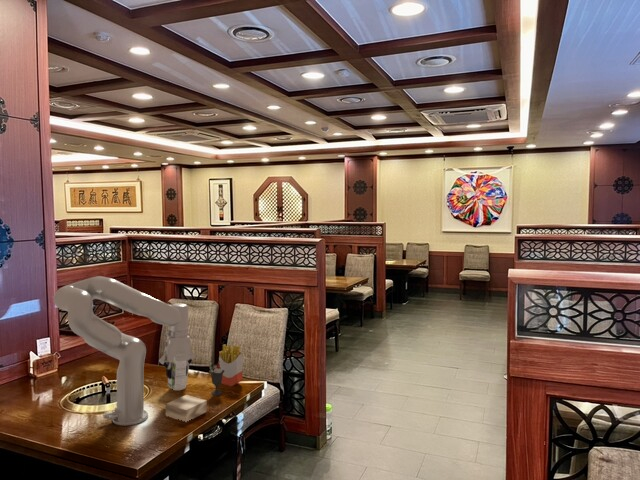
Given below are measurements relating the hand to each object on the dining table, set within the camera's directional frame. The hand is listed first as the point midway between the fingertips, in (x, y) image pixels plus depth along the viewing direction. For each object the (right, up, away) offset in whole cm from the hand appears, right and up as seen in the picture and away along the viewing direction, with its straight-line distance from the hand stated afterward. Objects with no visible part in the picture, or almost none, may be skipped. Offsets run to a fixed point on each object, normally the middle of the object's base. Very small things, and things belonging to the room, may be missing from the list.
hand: (176, 376), depth 195 cm
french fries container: (+18, -10, +23) cm, 31 cm away
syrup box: (0, -5, 0) cm, 5 cm away
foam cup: (-4, -10, +17) cm, 20 cm away
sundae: (+14, -11, +11) cm, 21 cm away
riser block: (+7, -12, -10) cm, 17 cm away
